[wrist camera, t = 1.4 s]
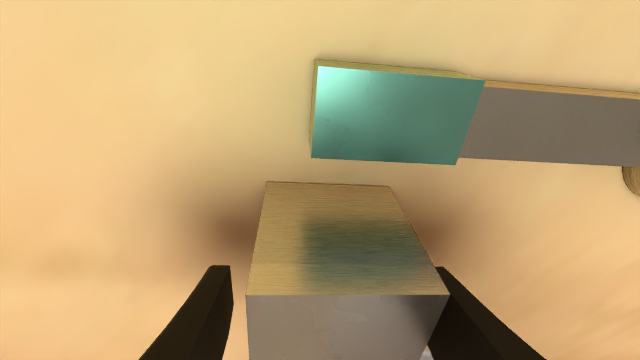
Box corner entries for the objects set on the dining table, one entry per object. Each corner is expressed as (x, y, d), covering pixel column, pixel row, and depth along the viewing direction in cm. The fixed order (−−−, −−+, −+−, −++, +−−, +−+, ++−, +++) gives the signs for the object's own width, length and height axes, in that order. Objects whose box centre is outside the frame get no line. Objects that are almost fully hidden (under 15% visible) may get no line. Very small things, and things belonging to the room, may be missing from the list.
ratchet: (716, 201, 14) (867, 265, 10) (305, 185, 12) (309, 259, 8) (861, 46, 10) (1165, 58, 7) (320, -18, 8) (338, -51, 5)
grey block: (368, 272, 14) (403, 394, 10) (267, 271, 14) (252, 400, 9) (389, 186, 12) (450, 294, 7) (266, 181, 11) (245, 295, 7)
